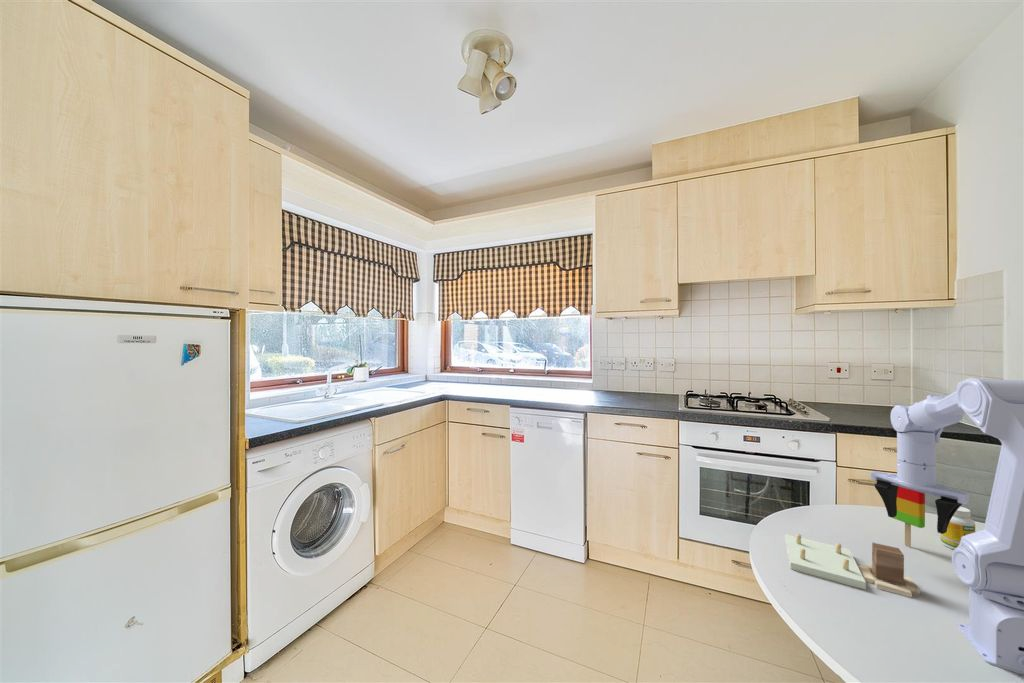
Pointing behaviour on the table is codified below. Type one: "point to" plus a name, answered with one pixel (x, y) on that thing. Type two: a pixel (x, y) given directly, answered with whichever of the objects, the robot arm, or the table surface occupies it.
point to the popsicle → (910, 510)
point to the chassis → (823, 561)
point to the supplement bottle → (958, 528)
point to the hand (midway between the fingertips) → (916, 523)
